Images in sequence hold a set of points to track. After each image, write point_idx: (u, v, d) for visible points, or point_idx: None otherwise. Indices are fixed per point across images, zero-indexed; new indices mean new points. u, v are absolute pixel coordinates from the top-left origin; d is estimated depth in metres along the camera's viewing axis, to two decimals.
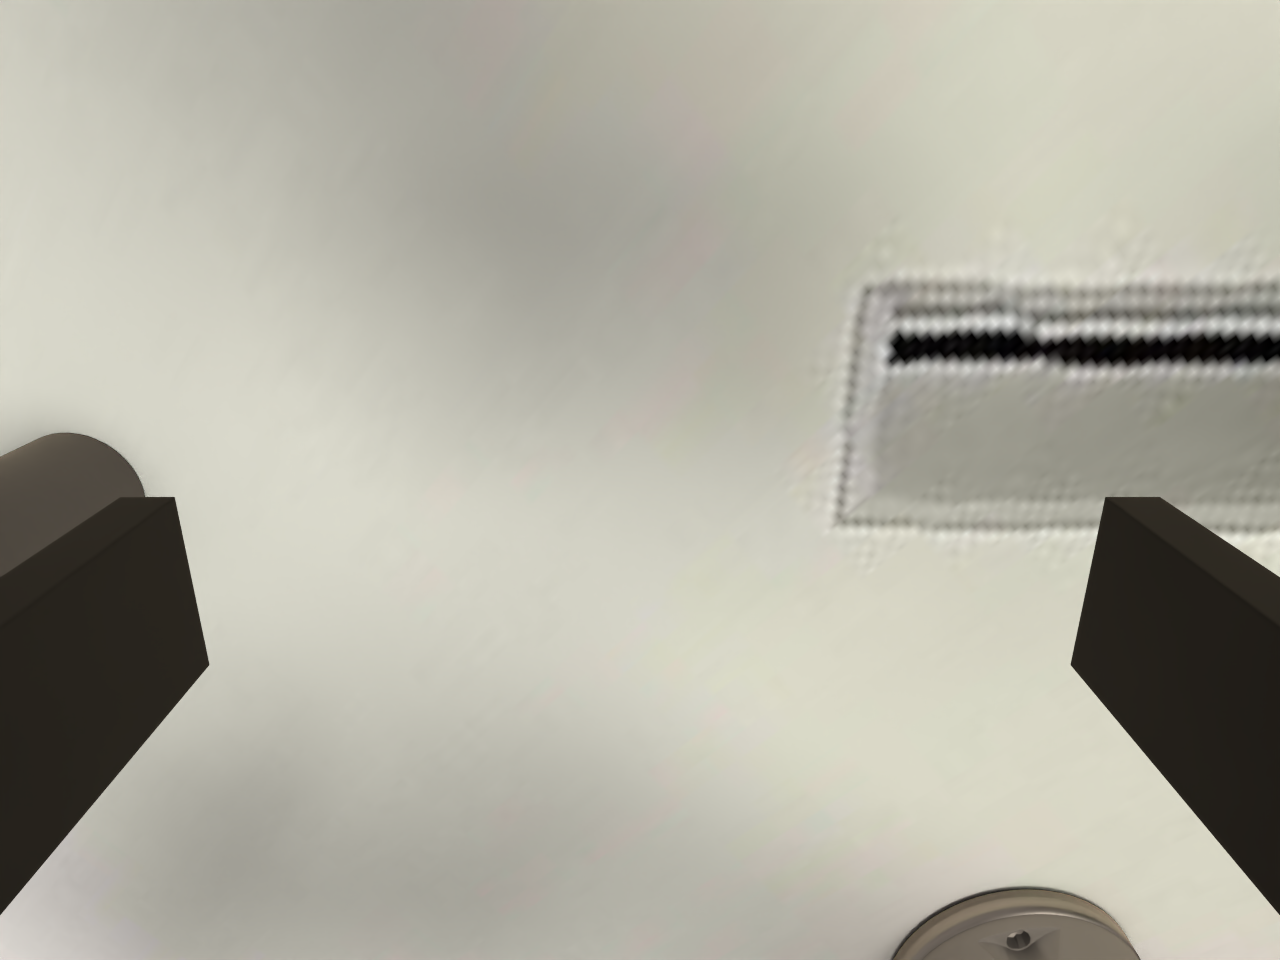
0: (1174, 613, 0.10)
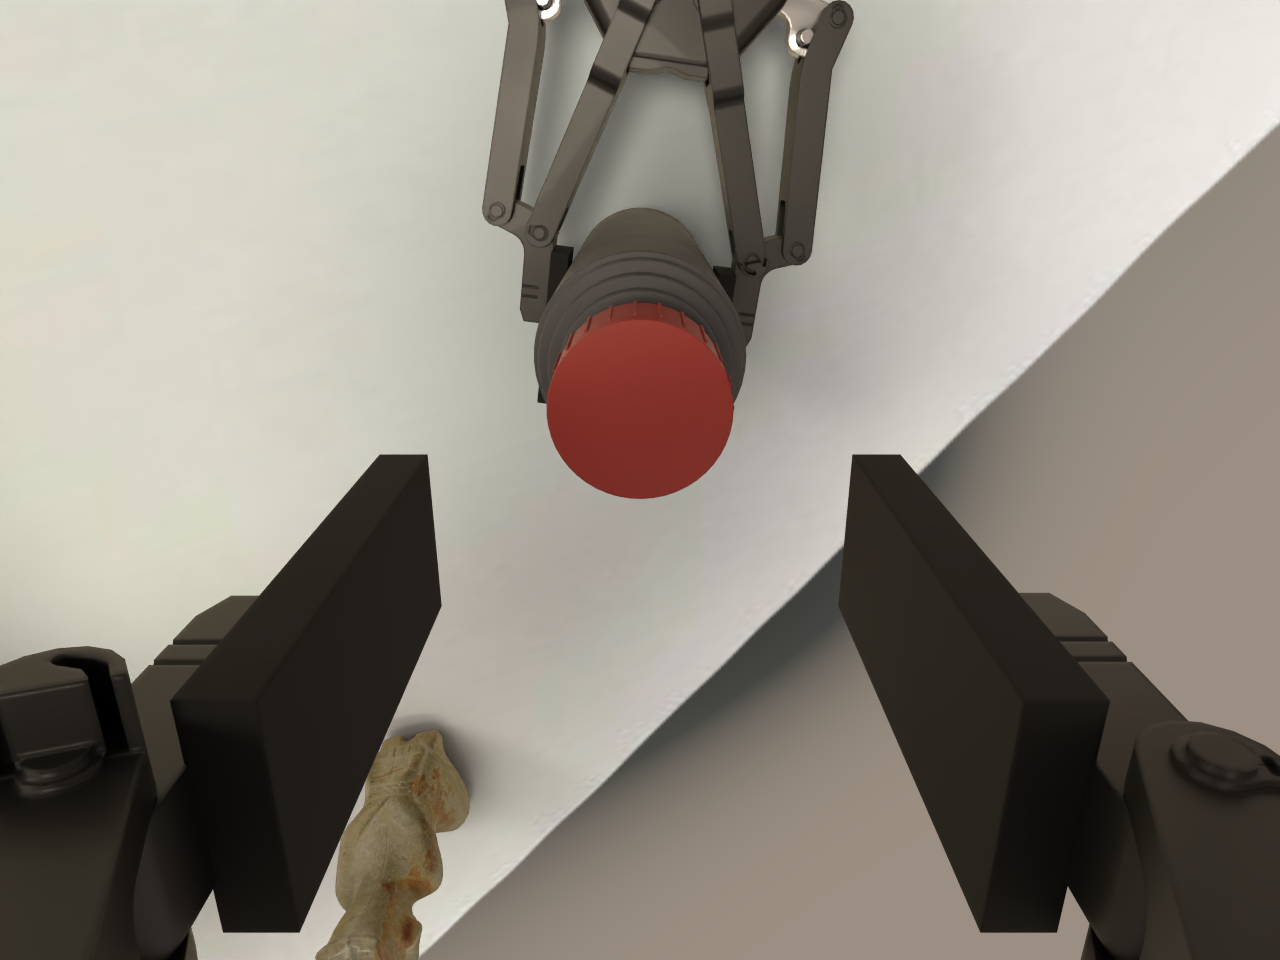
0: (879, 550, 0.12)
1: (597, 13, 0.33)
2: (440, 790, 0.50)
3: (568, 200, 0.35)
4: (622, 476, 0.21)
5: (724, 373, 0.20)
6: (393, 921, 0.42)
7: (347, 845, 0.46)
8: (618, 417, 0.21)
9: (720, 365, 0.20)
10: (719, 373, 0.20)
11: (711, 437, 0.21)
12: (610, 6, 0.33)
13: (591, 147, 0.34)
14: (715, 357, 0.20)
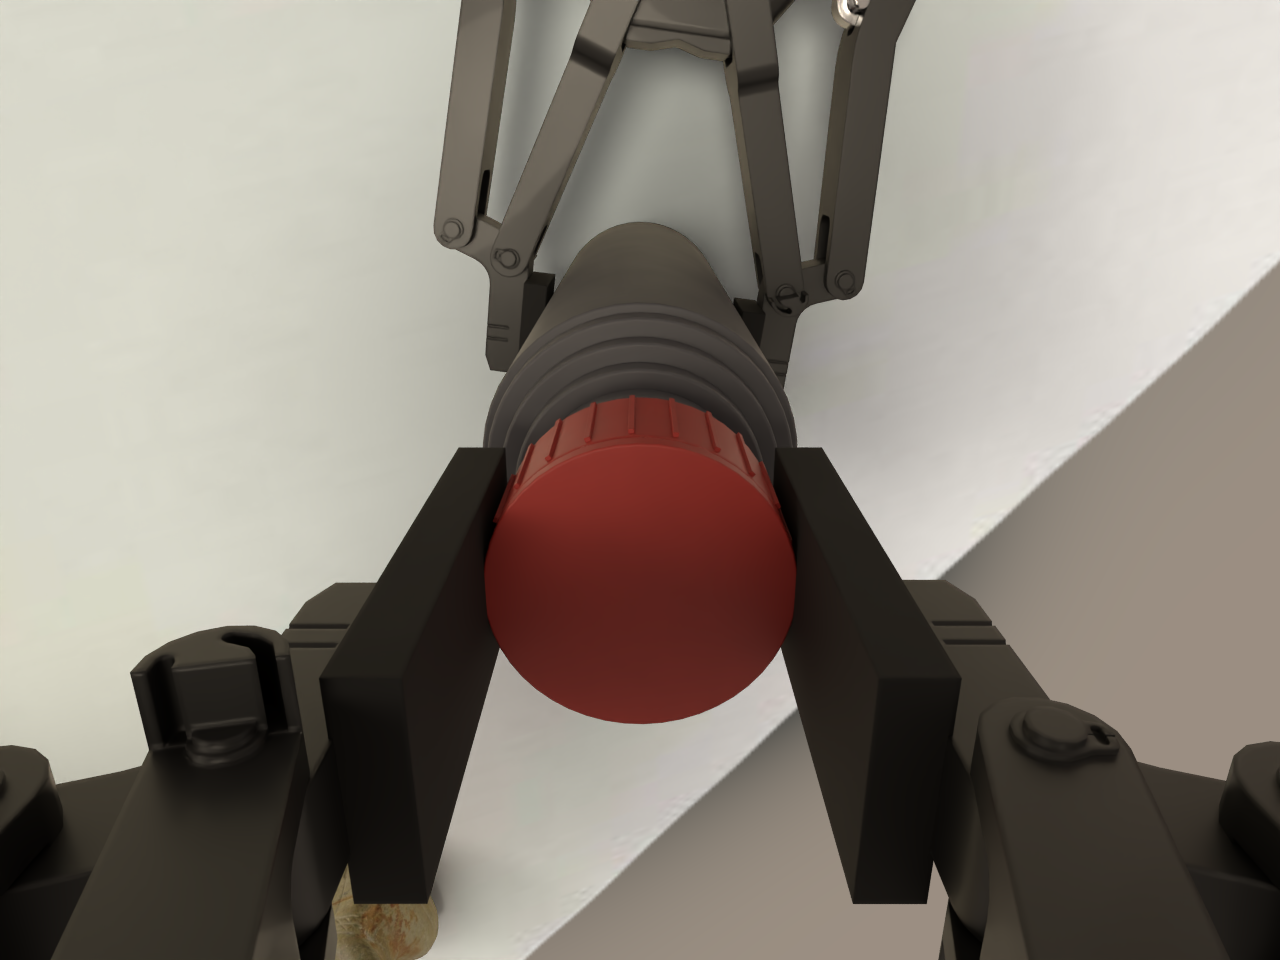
0: None
1: None
2: (399, 920, 0.41)
3: (546, 216, 0.27)
4: (611, 690, 0.13)
5: (784, 531, 0.12)
6: None
7: None
8: (604, 600, 0.12)
9: (777, 518, 0.12)
10: (776, 532, 0.12)
11: (760, 631, 0.12)
12: None
13: (576, 146, 0.26)
14: (769, 505, 0.12)
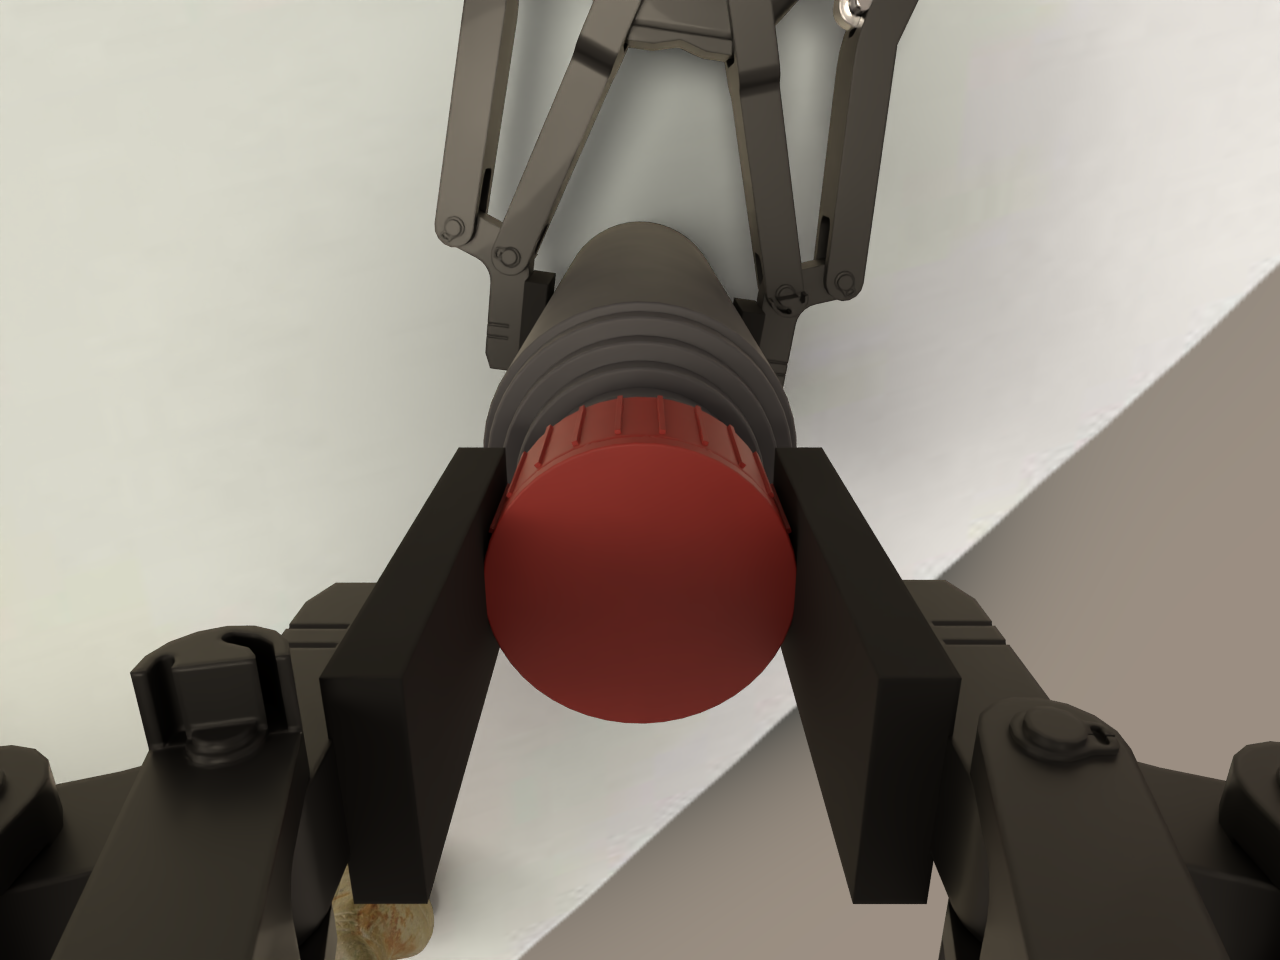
0: (792, 539, 0.12)
1: None
2: (395, 917, 0.41)
3: (547, 214, 0.27)
4: (748, 631, 0.12)
5: (587, 453, 0.11)
6: None
7: None
8: (644, 625, 0.12)
9: (572, 457, 0.11)
10: (585, 463, 0.11)
11: (701, 485, 0.12)
12: None
13: (577, 145, 0.26)
14: (557, 465, 0.11)
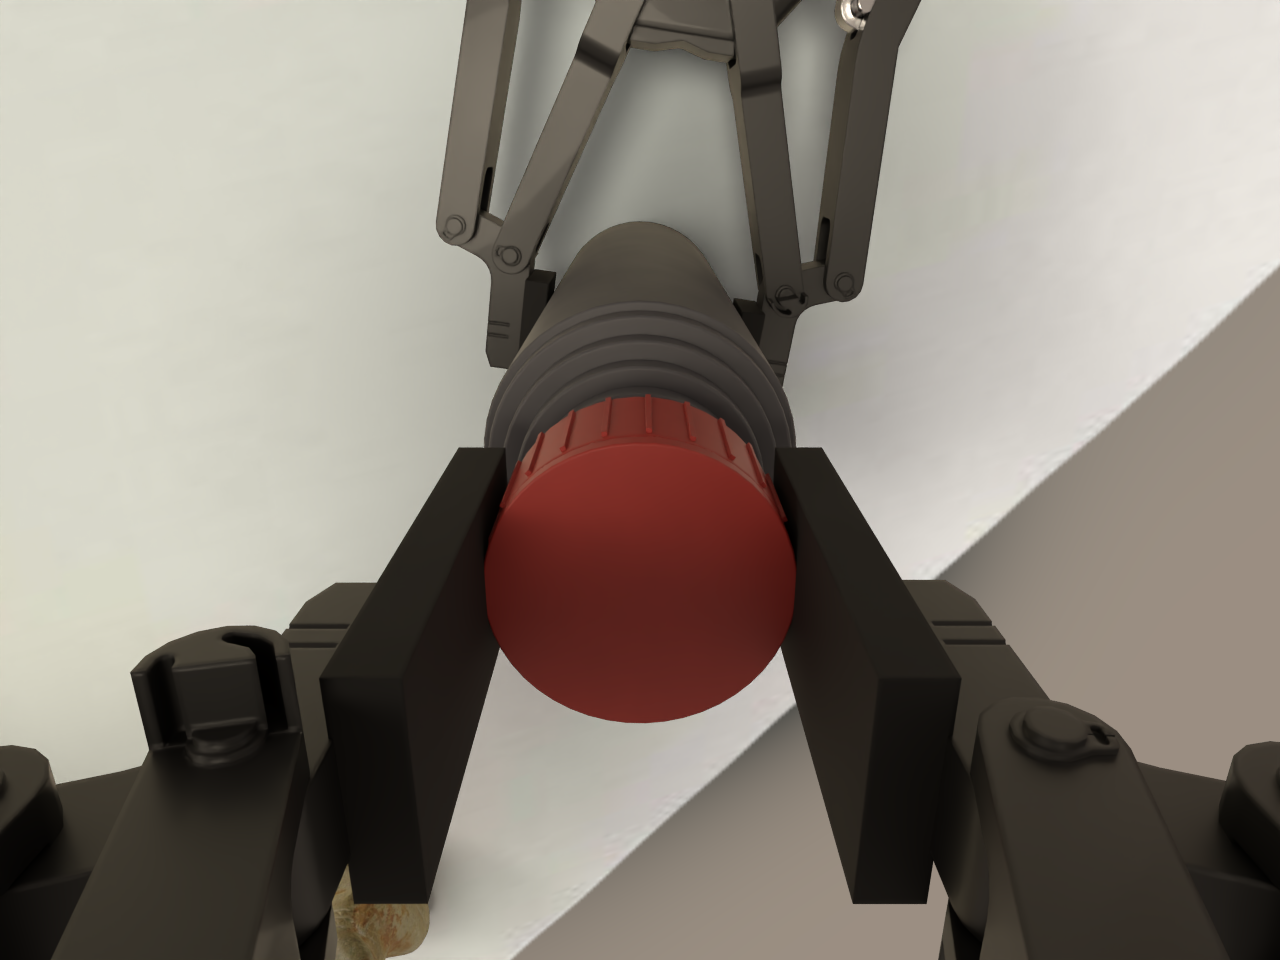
0: (791, 539, 0.12)
1: None
2: (391, 915, 0.41)
3: (548, 214, 0.27)
4: (700, 495, 0.12)
5: (489, 620, 0.12)
6: None
7: None
8: (677, 593, 0.12)
9: (494, 631, 0.12)
10: (497, 624, 0.12)
11: (529, 526, 0.12)
12: None
13: (579, 145, 0.26)
14: (500, 645, 0.12)
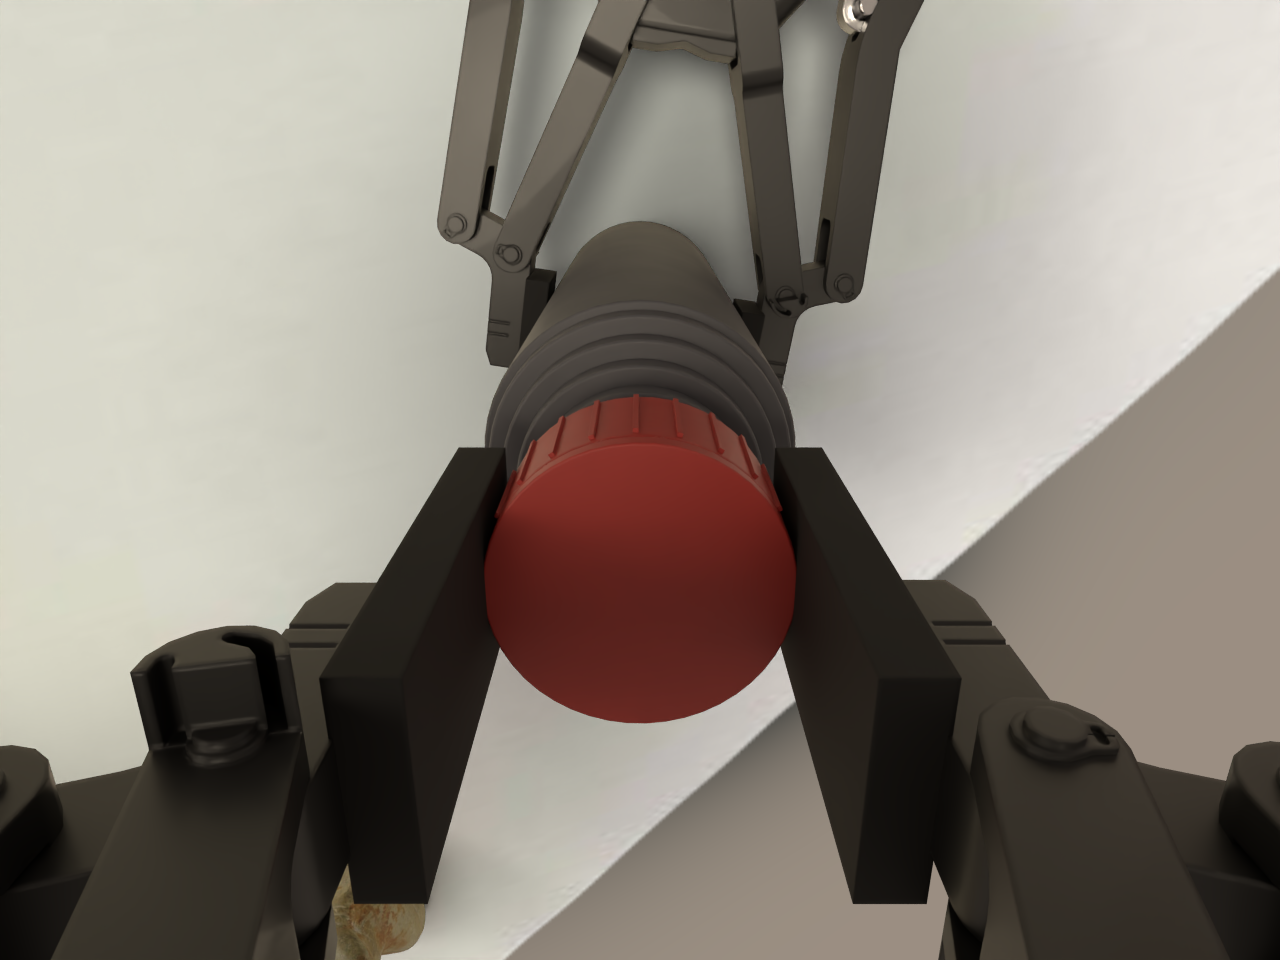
0: (792, 539, 0.12)
1: None
2: (387, 912, 0.41)
3: (549, 213, 0.27)
4: (540, 528, 0.12)
5: (651, 721, 0.13)
6: None
7: None
8: (645, 559, 0.12)
9: (665, 719, 0.13)
10: (655, 717, 0.13)
11: (558, 676, 0.13)
12: None
13: (580, 144, 0.26)
14: (680, 717, 0.13)
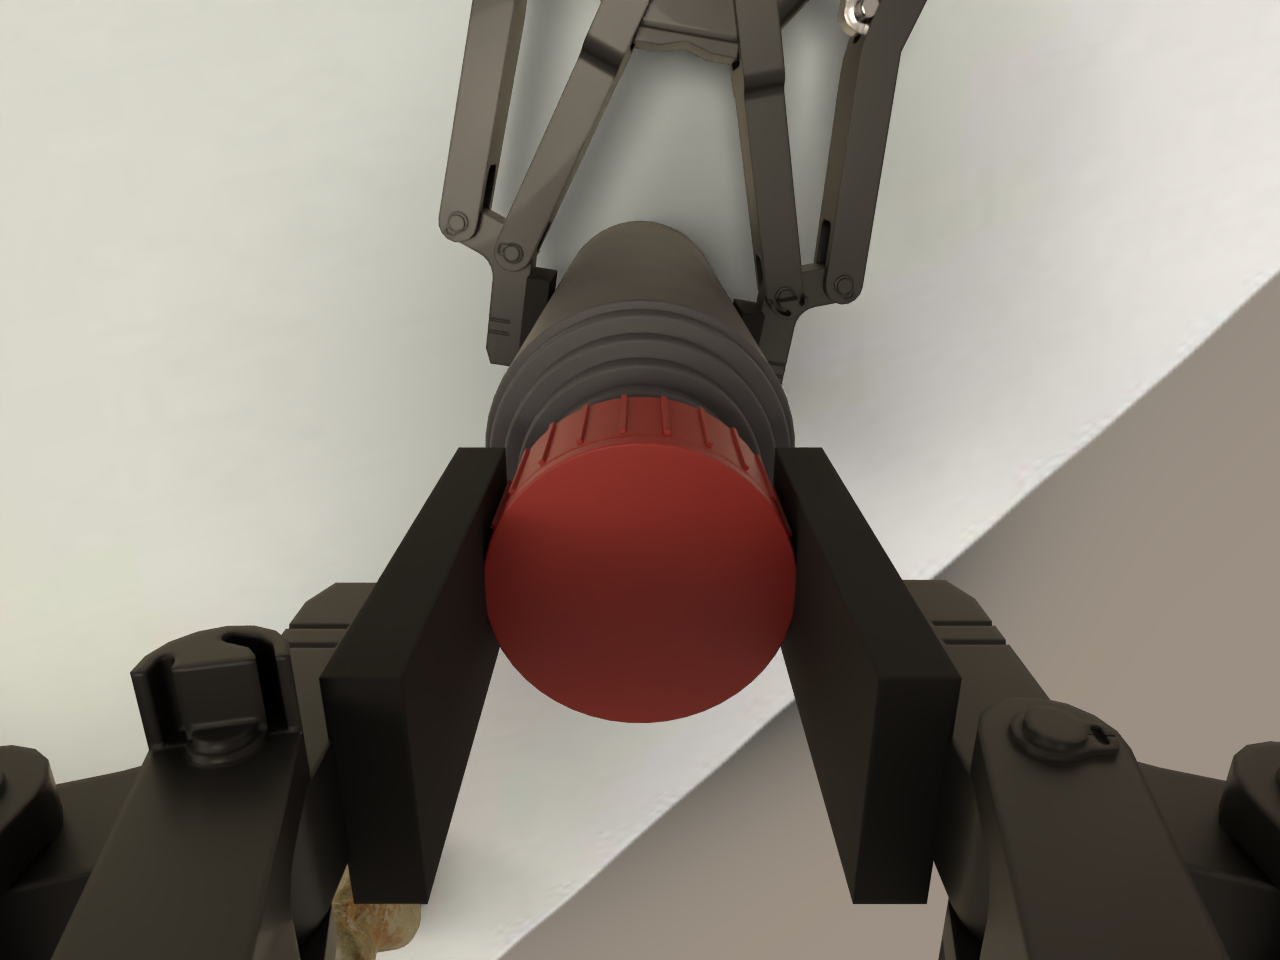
0: (792, 539, 0.12)
1: None
2: (383, 909, 0.41)
3: (550, 212, 0.27)
4: (561, 667, 0.13)
5: None
6: None
7: None
8: (604, 583, 0.12)
9: None
10: (788, 595, 0.12)
11: (723, 674, 0.13)
12: None
13: (582, 144, 0.26)
14: (795, 570, 0.12)
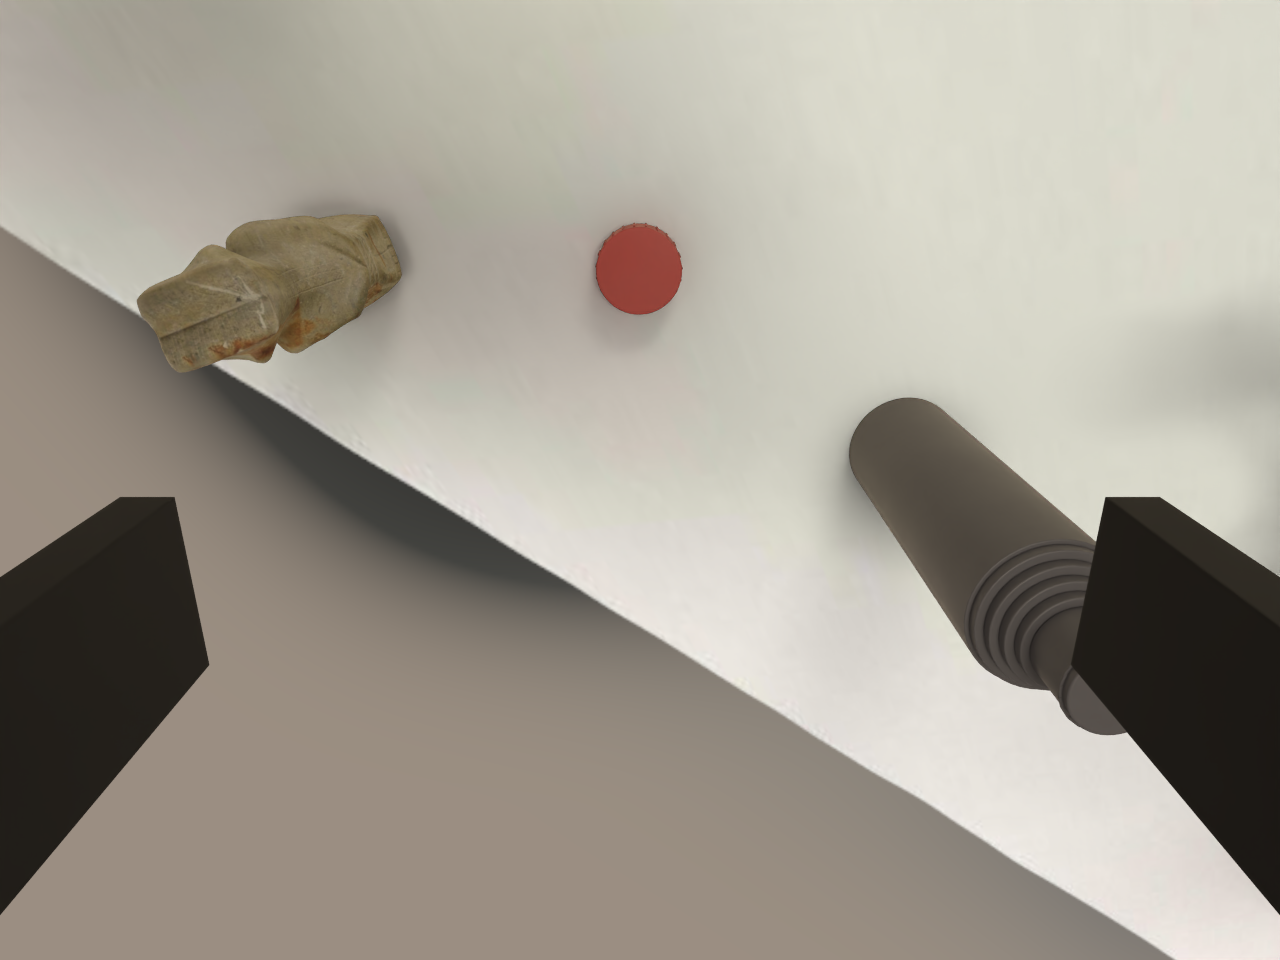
0: (1174, 614, 0.10)
1: None
2: None
3: None
4: (617, 295, 0.45)
5: (681, 273, 0.45)
6: (279, 331, 0.35)
7: (308, 230, 0.38)
8: (629, 268, 0.45)
9: (681, 269, 0.45)
10: (679, 272, 0.45)
11: (662, 297, 0.45)
12: None
13: None
14: (680, 264, 0.45)
